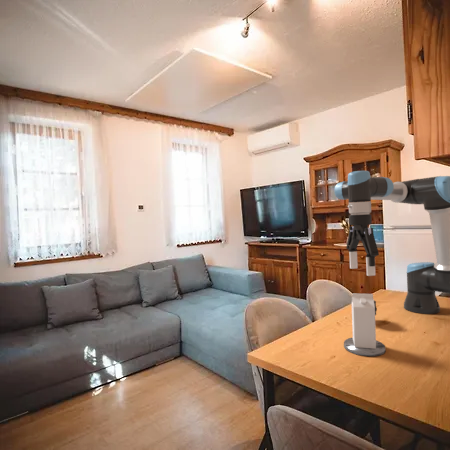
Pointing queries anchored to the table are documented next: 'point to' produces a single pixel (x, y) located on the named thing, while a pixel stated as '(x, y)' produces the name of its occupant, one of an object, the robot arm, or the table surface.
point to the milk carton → (363, 321)
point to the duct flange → (364, 351)
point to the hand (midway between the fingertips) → (361, 271)
